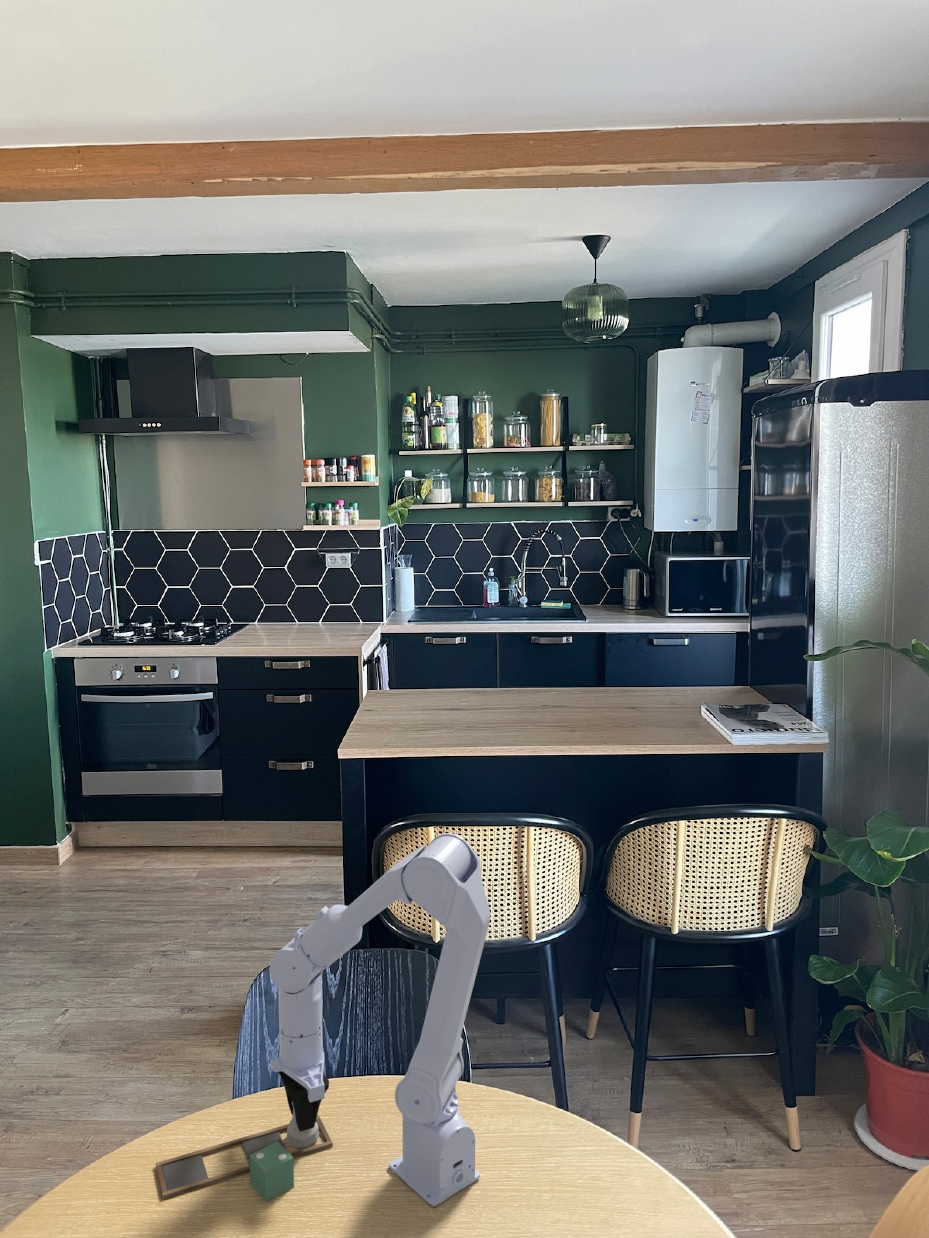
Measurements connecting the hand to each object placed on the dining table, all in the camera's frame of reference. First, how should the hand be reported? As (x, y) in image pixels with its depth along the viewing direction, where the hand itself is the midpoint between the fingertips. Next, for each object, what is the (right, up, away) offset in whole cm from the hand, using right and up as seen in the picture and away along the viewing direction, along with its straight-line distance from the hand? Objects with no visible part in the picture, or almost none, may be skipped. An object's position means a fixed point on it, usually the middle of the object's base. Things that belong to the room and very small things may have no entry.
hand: (302, 1119), depth 125 cm
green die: (-2, -4, -8) cm, 9 cm away
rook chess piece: (0, -3, 0) cm, 3 cm away
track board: (-7, -3, -3) cm, 8 cm away
